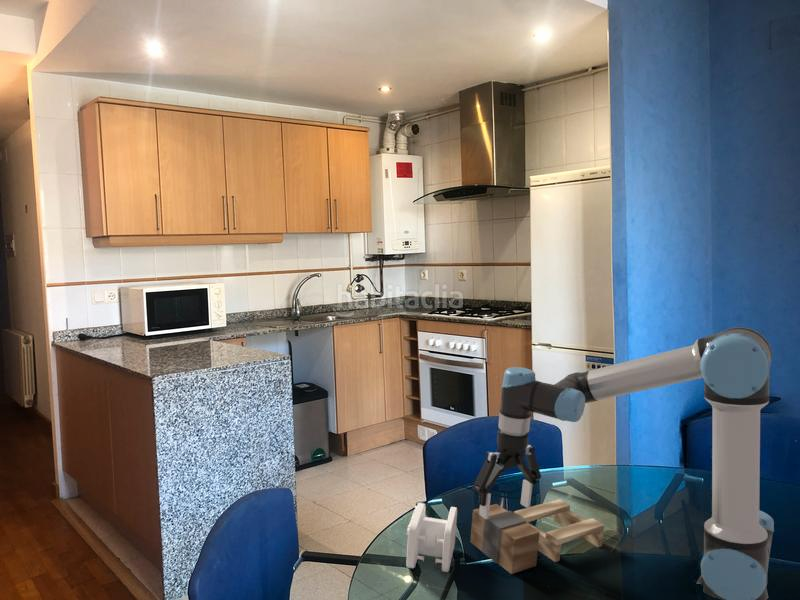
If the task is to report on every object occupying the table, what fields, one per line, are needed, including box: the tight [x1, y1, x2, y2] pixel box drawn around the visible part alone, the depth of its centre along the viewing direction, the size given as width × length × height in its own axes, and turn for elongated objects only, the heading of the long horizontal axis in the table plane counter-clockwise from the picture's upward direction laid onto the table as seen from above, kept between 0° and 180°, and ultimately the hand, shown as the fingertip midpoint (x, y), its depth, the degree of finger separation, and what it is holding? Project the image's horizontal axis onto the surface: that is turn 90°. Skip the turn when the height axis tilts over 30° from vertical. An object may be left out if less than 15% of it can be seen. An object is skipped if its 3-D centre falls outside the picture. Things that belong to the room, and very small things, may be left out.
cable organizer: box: [405, 502, 458, 573], centre depth 157 cm, size 15×11×12 cm
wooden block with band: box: [469, 503, 539, 575], centre depth 162 cm, size 16×8×9 cm, turn 32°
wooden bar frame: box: [513, 498, 605, 563], centre depth 171 cm, size 16×17×6 cm
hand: (504, 511), depth 161 cm, fingers open, 13 cm apart
